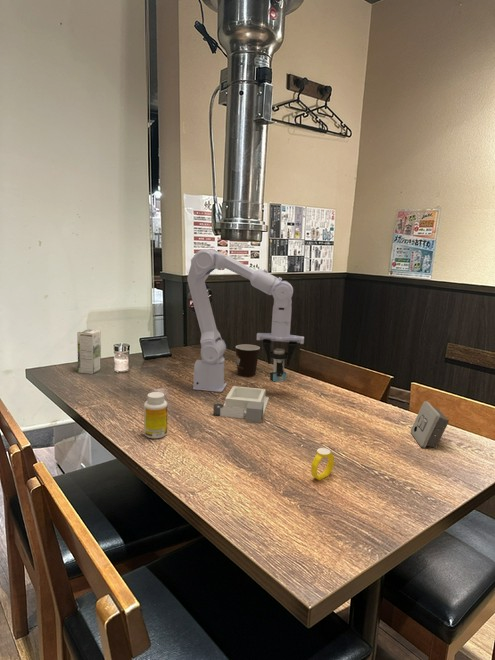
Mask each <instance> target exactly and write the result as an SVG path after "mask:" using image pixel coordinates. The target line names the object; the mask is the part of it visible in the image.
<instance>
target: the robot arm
mask: <svg viewBox="0 0 495 660" xmlns="http://www.w3.org/2000/svg"><path fill="white" fill-rule="evenodd" d="M218 269H219V270H221V269H226V270H229V271H230V272H232V273H235V274H237V275H239V276H241V277H243V278H245V279H246V280H247V279H248V280H249V281H250V285H251V286H252V287H253V288H255V289H257V290H259V291H261V292H263V293H265V294H266V295H268V296H272V298H273V306H272V314H271V316H272V318H271V330H270V331H271V332H267V333H266V332H257V333H256V341H262V346H263V348H264V351H265V354H266V357H267V364H268V365H271V364H272V358H271V354H270V353H271V352H272V348H273V347H272V346H273V345H272V344H273V342H280V343H281V342H282V343H283V342H284V343H288V346H287V353H288V355H287V358H286V359H287V360H286V366H287V367H289V366H290V363H291V358H292V356H293V354H294V351H295V350H296V348H297V345H298V344H301V345H304V343H305V336H301V335H294V334H291V323H292V322H291V321H292V307H293V306H292V304H293V302H292V301H293V300H292V297H293V294H294V287H293V286H292V284H291V283H290V282H288V280H283V278H282V277H280V276H279V277H277V276H275V275H273V274H271V273H269V270H268V269H261V268H259V269H257V270H256V269H255V270H254V269H253V268H251V267H249V266H248V265H246V264H244V263H242V262H240V261H239V260H237V259H235V258H233V257H231V256H230V255H228V254H225V253H224V252H220V251H217V250H216V249H213V248H209V249H205V248H204V249H200V250H198V251H197V252H196V253H194V255H193V257H192V258H191V259H190V267H189V271H188V274H187V284H188V288H189V292H190V295H191V296H190V297H191V299H192V304H193V307H194V311H195V314H196V318H197V321H198V326H199V329H200V334H201V335H200V341H199V342H200V347H201V348H200V357H201V359H196V360H195V363H194V367H193V386H192V387H193V388H192V389H193V390H196V391H206V392H217V393H222V392H223V391H224V390H225V388H226V386H227V385H228V383H227V382H225V362H226V361H225V360H226V359H225V357H224V354H225V353H226V351H227V345H226V343H225V340H224V339H222V336H221V333H220V332H219V330H218V327H217V325H216V320H215V317H214V314H213V313H214V312H213V309H212V305H211V302H210V301H211V300H210V297H209V293H208V290H207V286H206V280H207V279H208V277H209V276H210V274H211V273H212V272H213V271H215V270H218Z"/></svg>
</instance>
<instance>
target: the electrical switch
mask: <svg viewBox="0 0 495 660" xmlns="http://www.w3.org/2000/svg"><path fill="white" fill-rule="evenodd" d="M449 422H450V420H449V419H448V418H447V416H445V415H444V413H443V412H442V411H440V409H439V408H437V407H434V406H433V405H432V404H431V403H430V402H429V401H426V400H425V401H423V403H422V405H421V406H420V408H419V411H418V413H417V415H416V417H415V419H414V422H413V424H412V425H411V428H410V434H411V435H412V436H413V438H414V439H415V441H416V443H418V444H419V446H420V447H421V448H423V449H425V448H426V447H431V448H433V449H437V447H438V445H439V443H440V442H441V438H442V437H443V435H444V432H445V430H446V428H447V427H448V425H449Z"/></svg>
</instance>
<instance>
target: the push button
mask: <svg viewBox="0 0 495 660" xmlns="http://www.w3.org/2000/svg"><path fill="white" fill-rule="evenodd" d="M270 354H271V359H272V360H273V367H272V372H270V373H269V376H270V377H269V381H271V382H273V383H278V382H283V381H286V380H287V378H290V376H289V375H290V374H289V373H287V371H286V370H285V360H286V359H287V358H288V351H286V350H285V349H284V348H281V347H278V348H277V347H276V348H273V349H272V350H271V353H270Z"/></svg>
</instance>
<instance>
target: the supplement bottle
mask: <svg viewBox="0 0 495 660" xmlns="http://www.w3.org/2000/svg"><path fill="white" fill-rule="evenodd" d="M146 397H147V400H146V401H145V402H144V404H143V433H144V436H145V437H147V438H149V439H161V438H163V437H166V435H168V434H167V433H168V402H167V401H166V399H165V394H164V393H163V392H161V391H153V392H149V393H148V394H147V395H146Z"/></svg>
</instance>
